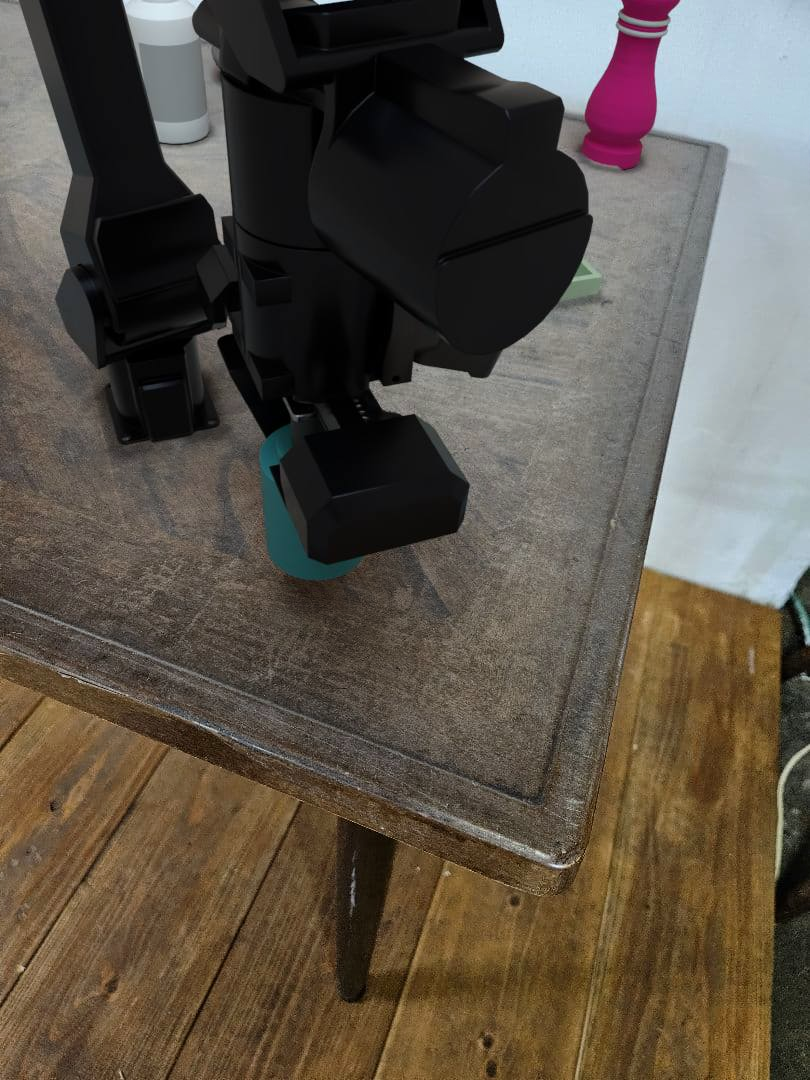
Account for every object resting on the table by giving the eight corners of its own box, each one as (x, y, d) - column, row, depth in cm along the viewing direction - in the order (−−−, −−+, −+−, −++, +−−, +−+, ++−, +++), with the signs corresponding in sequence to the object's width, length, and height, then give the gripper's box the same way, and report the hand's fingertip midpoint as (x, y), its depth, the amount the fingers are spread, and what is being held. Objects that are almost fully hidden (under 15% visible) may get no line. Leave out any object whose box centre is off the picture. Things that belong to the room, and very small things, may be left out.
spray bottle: (179, 151, 82) (150, -69, 69) (128, 132, 84) (91, -84, 71) (223, 130, 86) (204, -81, 73) (173, 113, 89) (146, -95, 75)
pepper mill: (562, 151, 89) (608, -76, 74) (608, 139, 92) (661, -81, 77) (610, 177, 85) (669, -56, 70) (656, 163, 88) (722, -62, 74)
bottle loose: (254, 519, 43) (241, 378, 37) (348, 497, 45) (351, 359, 38) (282, 591, 40) (273, 452, 34) (382, 566, 42) (392, 428, 35)
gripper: (643, 316, 26) (547, 614, 38) (419, 99, 38) (398, 378, 49) (308, 376, 23) (314, 683, 34) (174, 117, 34) (212, 413, 46)
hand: (316, 515), depth 41 cm, fingers closed on bottle loose, 5 cm apart
